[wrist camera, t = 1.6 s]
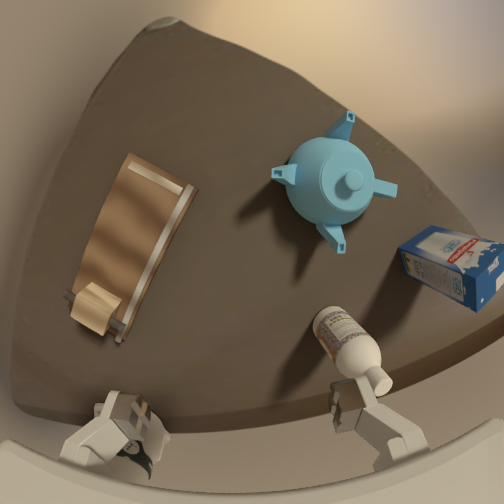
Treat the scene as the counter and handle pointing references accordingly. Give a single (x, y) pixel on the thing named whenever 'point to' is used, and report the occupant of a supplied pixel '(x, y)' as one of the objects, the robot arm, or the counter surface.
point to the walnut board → (133, 235)
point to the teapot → (331, 181)
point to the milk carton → (455, 265)
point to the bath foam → (351, 348)
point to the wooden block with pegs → (95, 308)
